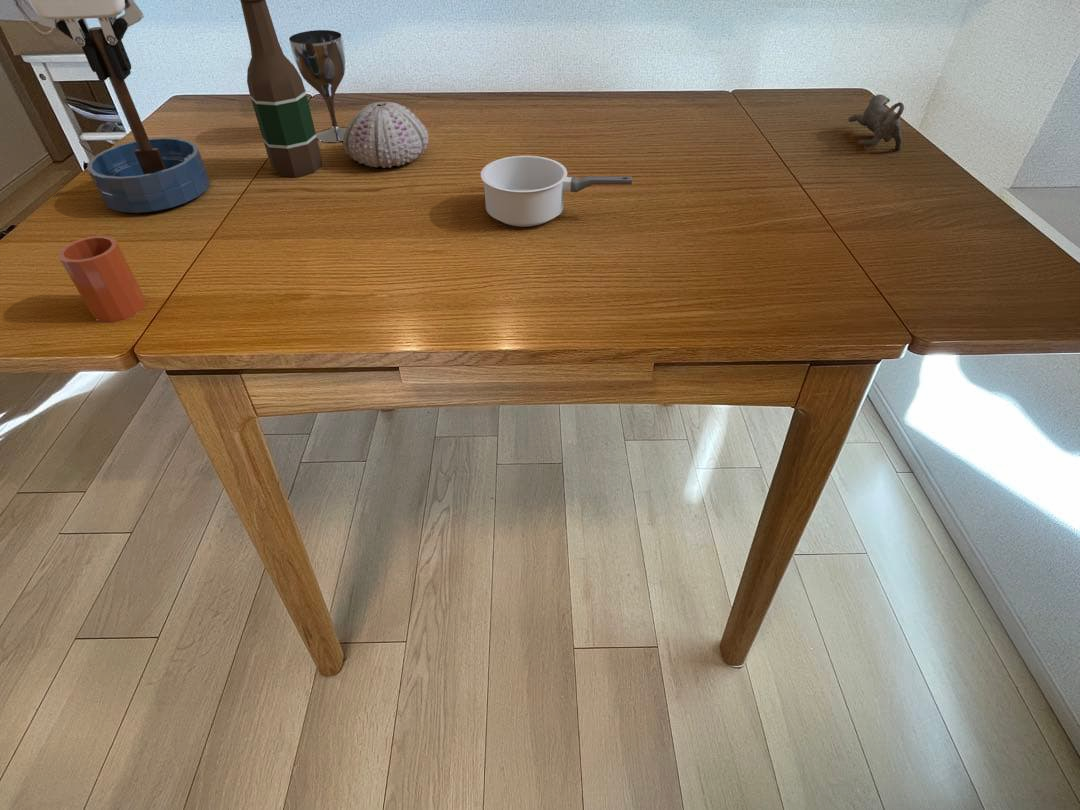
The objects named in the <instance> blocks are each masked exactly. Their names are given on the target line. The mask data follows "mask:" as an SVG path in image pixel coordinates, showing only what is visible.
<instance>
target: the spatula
mask: <svg viewBox="0 0 1080 810" xmlns="http://www.w3.org/2000/svg"><path fill="white" fill-rule="evenodd" d="M89 32H90V34H91V37H92V39H93V42H94V44H95V46H96V49H97V51H98V53H99V56H100V58H101V60H102V63H103V65H104V67H105V70H106V72H107V75H108V79H109V82H110V84H111V86H112V88H113V91H114V94H115V96H116V98H117V100H118V103H119V105H120V107H121V110H122V113H123V115H124V117H125V120H126V121H127V124H128V126H129V129H130V132H131V133H132V136H133V138H134V141H136V143H137V145H138V148H139V149H136V150H135V151H134V152H135V155H136V157H137V159H138V162H139V164H140V166H141V169H142V171H143V173H144V175H145V174H150V173H155V172H159V171H162V170H165V169H166V167H165V164H164V162H163V159H162V157H161V154H160V152H159V149H158V148H152V147H151V144H150V142H149V139H150V138H149V137H148V134H147V132H146V129H145V127H144V125H143V122H142V120H141V117H140V114H139V112H138V110H137V108H136V105H135V103H134V100H133V98H132V95H131V92H130V91H129V88H128V86H127V83H126V81H125V80H120V79H118V78H117V76H116V74H115V72H114V69H113V67H112V64H111V62H110V60H109V57H108V55H107V52H106V50H105V46H106V45H107V42H106V40H105V39H106V38H105V36H104V33H103V31H102V28H101V26H94V27H89Z"/></svg>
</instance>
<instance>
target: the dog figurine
mask: <svg viewBox="0 0 1080 810" xmlns="http://www.w3.org/2000/svg"><path fill="white" fill-rule="evenodd" d="M889 102H891V99H890V98H889V97H887V96H886V95H884V94H876V95H874V96H872V97H871V99H870V100H869V102H868V105H867V107H866V108H865V109H864V112H863V114H853V115H851V116H849V117H848V119H847V120H848V121H847V122H849V123H853V122H858V124H860V125H861V126H863V127H866V128H867V129H868V130H869V131H871V132H872V133H873V137H872V138H867V139H863V140H861V141H860V142H859V146H863V147H864V146H865V147H876V146H878V144H879V142H881V140H882V139H883V141H884V143H888V142H889V143H890V141H891V140H892V139H894V142H895V145H894V149H895V150H896V151H900V150H901V149H902V143H903V137H902V134H901V133H902V123H901V122H902V121H901V119H900V118H901V116H902V114H903V113H904V110H905V105H904V103H903V102H897V103H895V104H893V105H891V106H890V108H888V110H886V109H885V107H886V105H887V104H889ZM897 108H898V109H897ZM896 109H897V112H895V110H896Z"/></svg>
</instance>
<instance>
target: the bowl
mask: <svg viewBox="0 0 1080 810" xmlns="http://www.w3.org/2000/svg"><path fill="white" fill-rule="evenodd" d="M148 139H149V142H150V144H151V147H152V148H158V149H159V152H160V154H161V157H162V159H163V162H164V164H165V167H166V169H165V170H162V171H159V172H155V173H150V174H145V175H144V173H143V171H142V169H141V166H140V164H139V162H138V159H137V157H136V155H135V152H134V151H135V150H136V149H139V148H138V145H137V143H136V141H135V140H132V141H128V142H125V143H120V144H118V145H114V146H113V147H109V148H107V149H105V150H103V151H101V152H99V153H97V154H96V155H95V156H93V157H92V158H91V159H90V160H89V161H88V162H87V172H88V174H89V177H90V178H91V180H92V182H93V184H94V186H95V188H96V191H97V192H98V194H99V196H100V198H101V200H102V202H103V204H104V205H105V206H106V207H108V208H109V209H111V210H113V211H117V212H121V213H131V214H139V213H140V214H141V213H153V212H159V211H163V210H165V211H166V210H170V209H173V208H175V207H178V206H181V205H183V204H186V203H189V202H191V201H193V200H194V199H197V198H198V197H200V196H202V194H204V193H205V192H206V191H207V190H208V189H209V187H210V185H211V179H210V177H209V174H208V171H207V169H206V166H205V164H204V160H203V158H202V155H201V153H200V149H199V147H198V144H196V143H194V142H193V141H191V140H188V139H185V138H179V137H151V138H150V137H149V138H148Z"/></svg>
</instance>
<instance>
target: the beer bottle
mask: <svg viewBox="0 0 1080 810" xmlns="http://www.w3.org/2000/svg"><path fill="white" fill-rule="evenodd" d="M239 1H240V5H241V9H242V15H243V18H244V21H245V23H244V24H245V27H246V31H247V36H248V40H249V46H250V52H251V53H250V54H251V57H250V60H249V64H248V66H247V72H246V73H247V75H246V76H247V77H246V84H247V87H248V92H249V97H250V100H251V103H252V107H253V110H254V113H255V116H256V121H257V124H258V126H259V130H260V134H261V137H262V140H263V144H264V148H265V150H266V154H267V157H268V159H269V162H270V166H271V168H272V169H273V171H275V172H276V174H277V175H278V177H287V178H300V177H303V176H304V177H305V176H307V175H312V174H314V173H316V172H317V171H318V170H319V169H320V168H321V167H322V166H323V160H322V155H321V154H322V153H321V149H320V145H319V140H317V136H316V134H317V133H316V129H315V125H314V120H313V116H312V112H311V108H310V104H309V99H308V95H307V92H306V87H305V84H304V82H303V77H302V75H301V74H300V72H298V71H299V70H297V68H296V66H295V65H294V64H293V63H292V62H291V61H290V60H289V58H288V57H287V56H286V55H285V54H284V51H283V49H282V46H281V45H280V42H279V39H278V35H277V32H276V29H275V26H274V23H273V19H272V16H271V13H270V10H269V6H268V4H267V1H266V0H239Z"/></svg>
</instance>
